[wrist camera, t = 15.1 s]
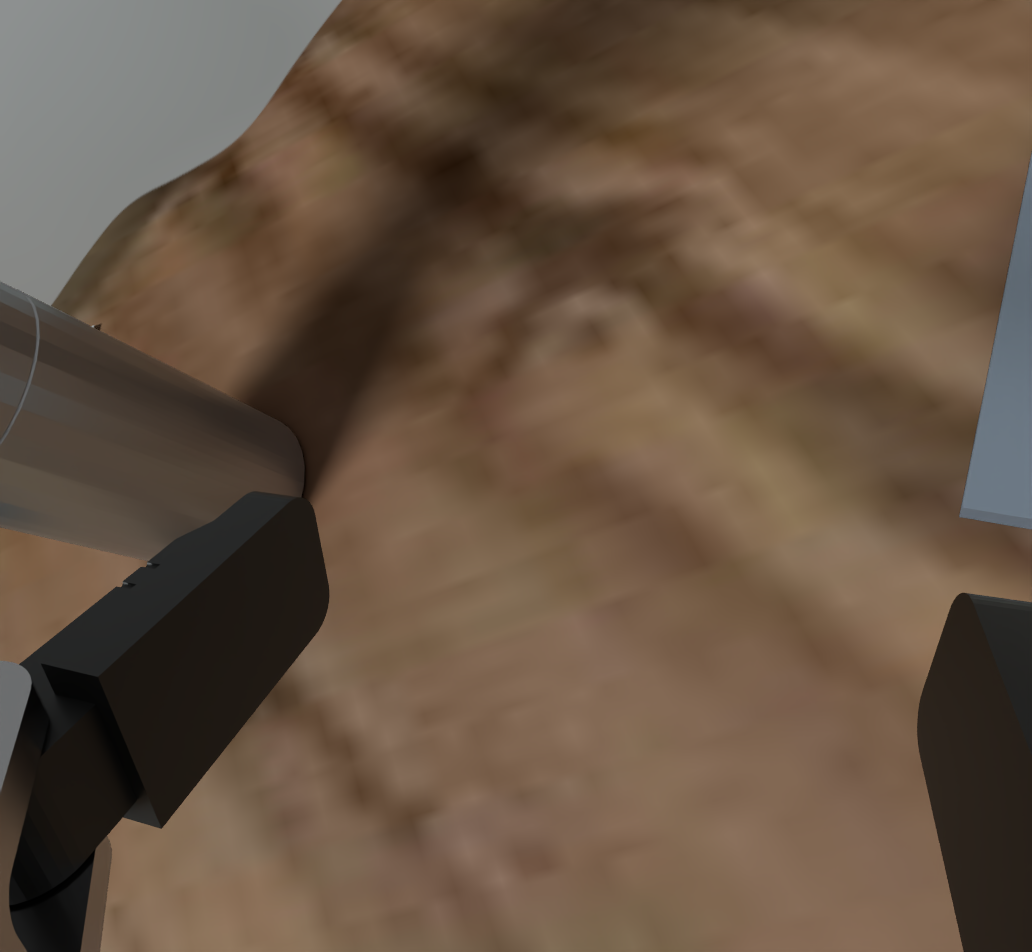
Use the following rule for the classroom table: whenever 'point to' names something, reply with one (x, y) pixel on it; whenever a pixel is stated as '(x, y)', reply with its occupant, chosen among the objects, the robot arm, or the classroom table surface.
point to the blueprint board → (1007, 398)
